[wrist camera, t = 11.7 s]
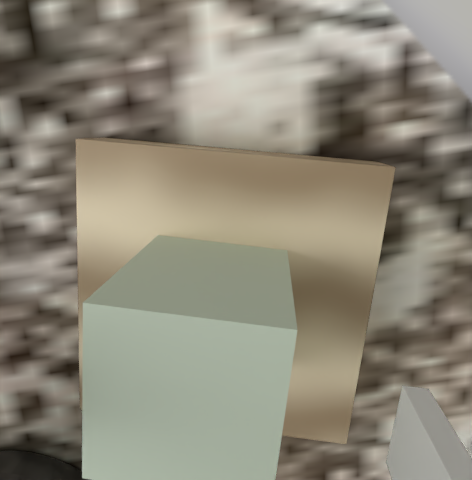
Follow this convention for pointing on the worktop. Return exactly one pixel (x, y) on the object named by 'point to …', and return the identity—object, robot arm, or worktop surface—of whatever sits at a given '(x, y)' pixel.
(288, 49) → the worktop surface
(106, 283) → the sage block
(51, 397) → the worktop surface
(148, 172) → the birch block
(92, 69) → the worktop surface
